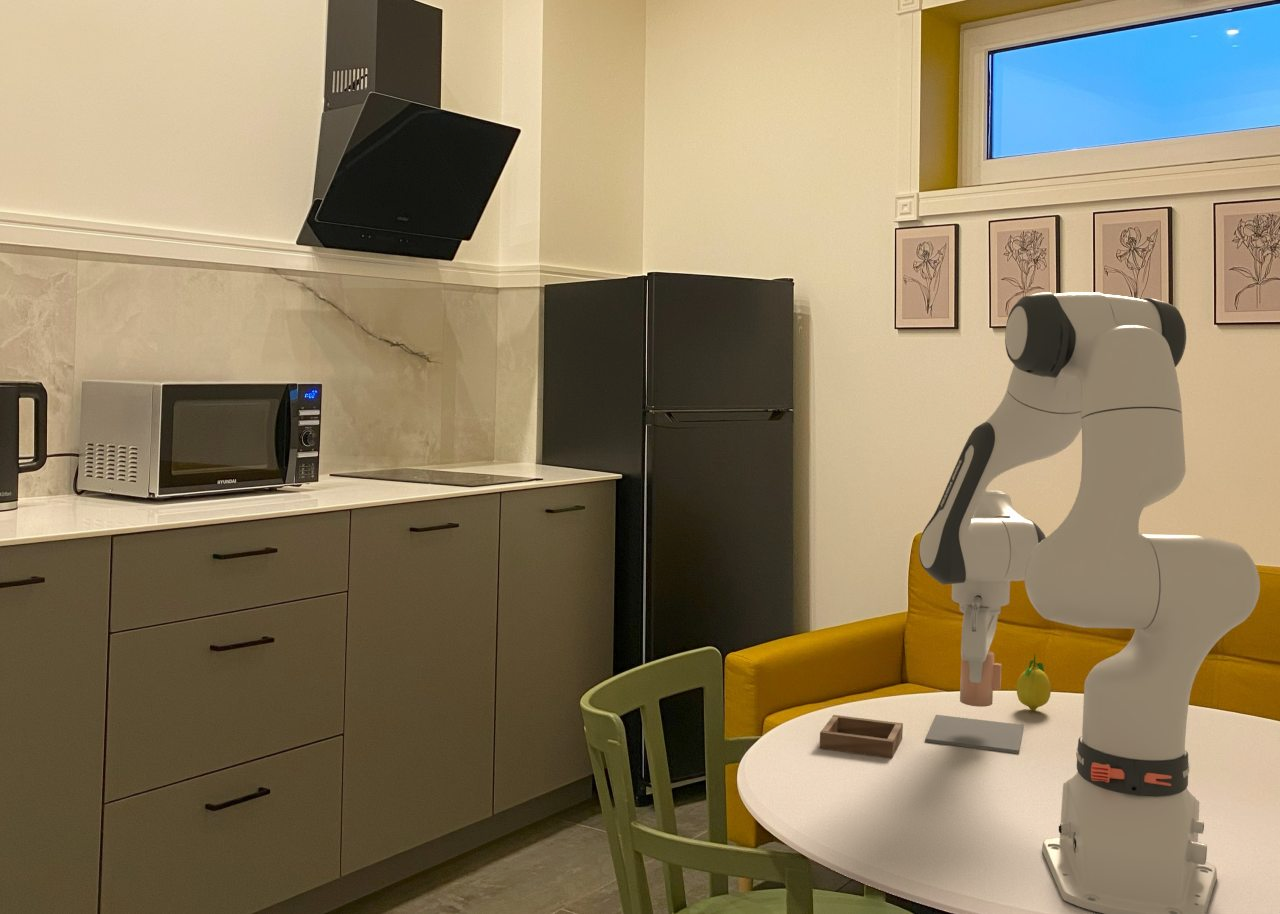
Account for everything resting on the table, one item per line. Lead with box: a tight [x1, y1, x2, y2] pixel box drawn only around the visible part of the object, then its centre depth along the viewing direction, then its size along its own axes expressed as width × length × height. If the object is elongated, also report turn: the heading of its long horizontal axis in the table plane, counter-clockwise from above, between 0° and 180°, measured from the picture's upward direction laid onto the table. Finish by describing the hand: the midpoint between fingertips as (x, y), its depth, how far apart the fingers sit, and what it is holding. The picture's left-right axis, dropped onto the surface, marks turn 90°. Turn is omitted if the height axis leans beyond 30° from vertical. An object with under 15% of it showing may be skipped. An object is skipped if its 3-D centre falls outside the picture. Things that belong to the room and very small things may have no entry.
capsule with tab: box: [959, 650, 1002, 708], centre depth 182 cm, size 5×6×8 cm
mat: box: [924, 714, 1025, 754], centre depth 182 cm, size 14×14×1 cm
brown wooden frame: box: [819, 714, 904, 759], centre depth 177 cm, size 10×11×2 cm
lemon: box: [1016, 653, 1052, 712], centre depth 196 cm, size 7×6×10 cm
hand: (977, 676), depth 182 cm, fingers closed on capsule with tab, 5 cm apart
